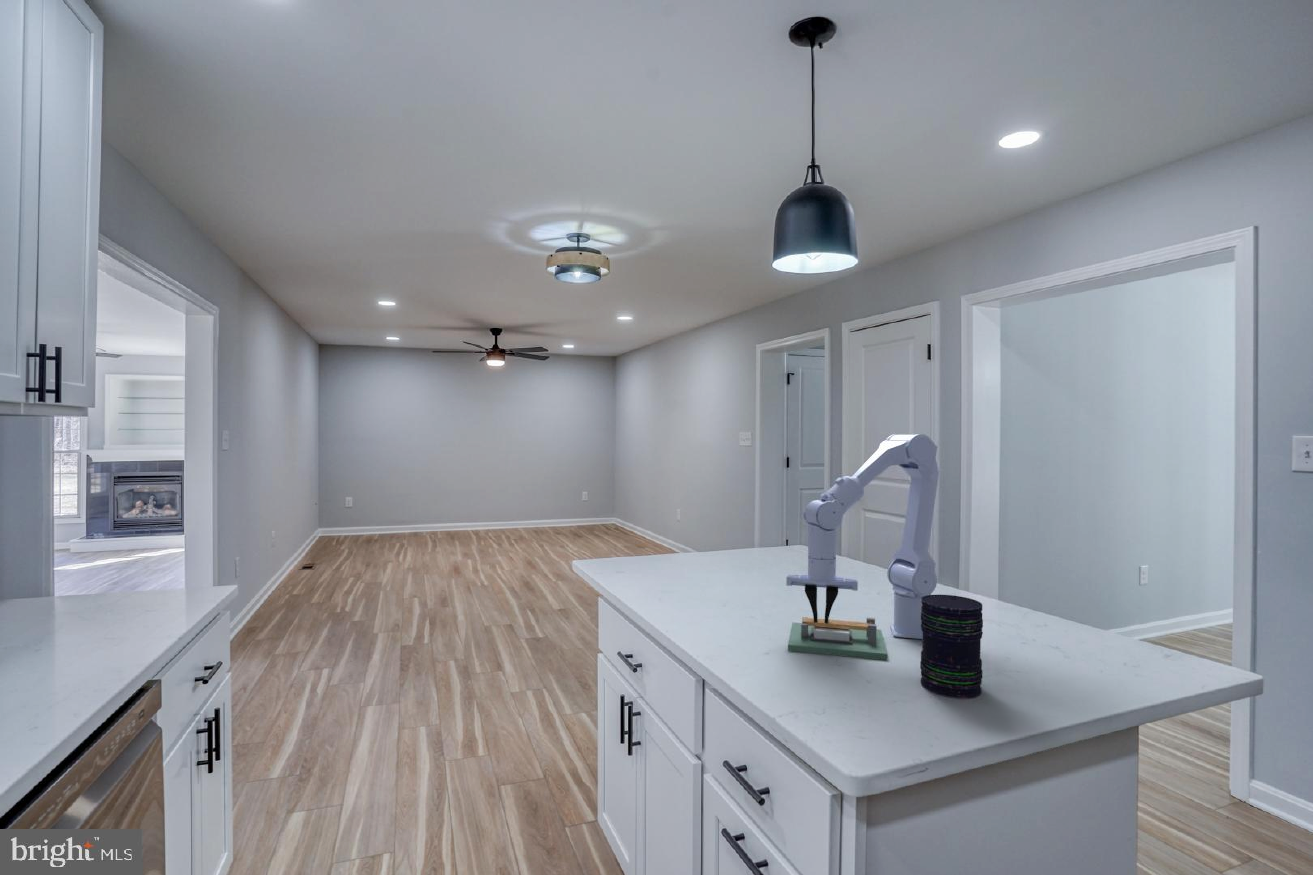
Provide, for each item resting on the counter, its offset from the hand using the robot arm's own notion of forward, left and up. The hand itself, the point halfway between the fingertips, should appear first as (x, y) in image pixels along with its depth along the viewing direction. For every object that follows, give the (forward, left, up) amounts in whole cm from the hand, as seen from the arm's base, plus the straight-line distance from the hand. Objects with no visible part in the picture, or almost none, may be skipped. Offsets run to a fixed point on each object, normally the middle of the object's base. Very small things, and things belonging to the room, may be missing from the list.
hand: (821, 621), depth 135 cm
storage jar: (-22, +19, -5) cm, 29 cm away
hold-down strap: (-3, 0, -1) cm, 4 cm away
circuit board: (-3, 0, -4) cm, 5 cm away
